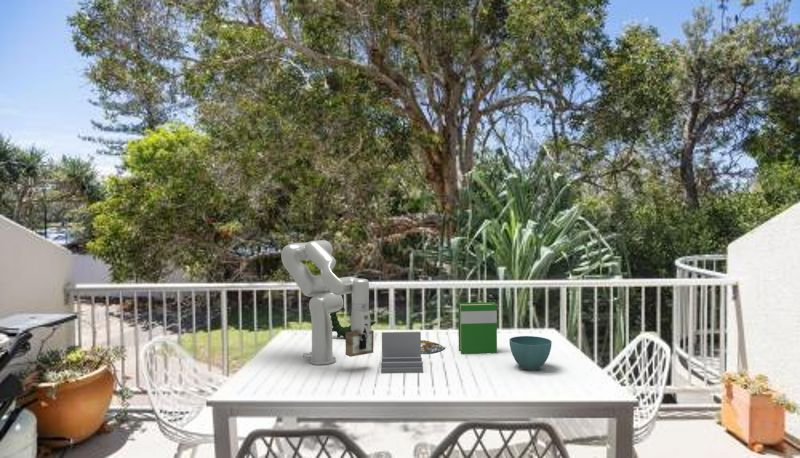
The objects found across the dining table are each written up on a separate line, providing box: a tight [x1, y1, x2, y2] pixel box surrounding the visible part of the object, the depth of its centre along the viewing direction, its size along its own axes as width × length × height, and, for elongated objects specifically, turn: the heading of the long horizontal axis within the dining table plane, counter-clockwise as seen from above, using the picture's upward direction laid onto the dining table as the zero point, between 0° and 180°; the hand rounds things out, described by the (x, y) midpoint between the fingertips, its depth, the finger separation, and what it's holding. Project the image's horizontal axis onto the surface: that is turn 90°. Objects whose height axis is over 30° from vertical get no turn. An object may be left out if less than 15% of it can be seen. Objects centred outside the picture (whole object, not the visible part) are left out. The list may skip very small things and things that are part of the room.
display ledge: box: [380, 331, 424, 374], centre depth 247 cm, size 18×18×14 cm
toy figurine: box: [329, 307, 377, 340], centre depth 306 cm, size 9×19×25 cm
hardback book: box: [457, 301, 498, 355], centre depth 273 cm, size 18×7×24 cm, turn 94°
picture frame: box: [345, 329, 375, 358], centre depth 244 cm, size 12×4×10 cm, turn 126°
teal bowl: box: [508, 335, 553, 371], centre depth 244 cm, size 18×18×12 cm
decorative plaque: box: [421, 339, 446, 355], centre depth 283 cm, size 30×3×30 cm
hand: (359, 347), depth 244 cm, fingers closed on picture frame, 4 cm apart
